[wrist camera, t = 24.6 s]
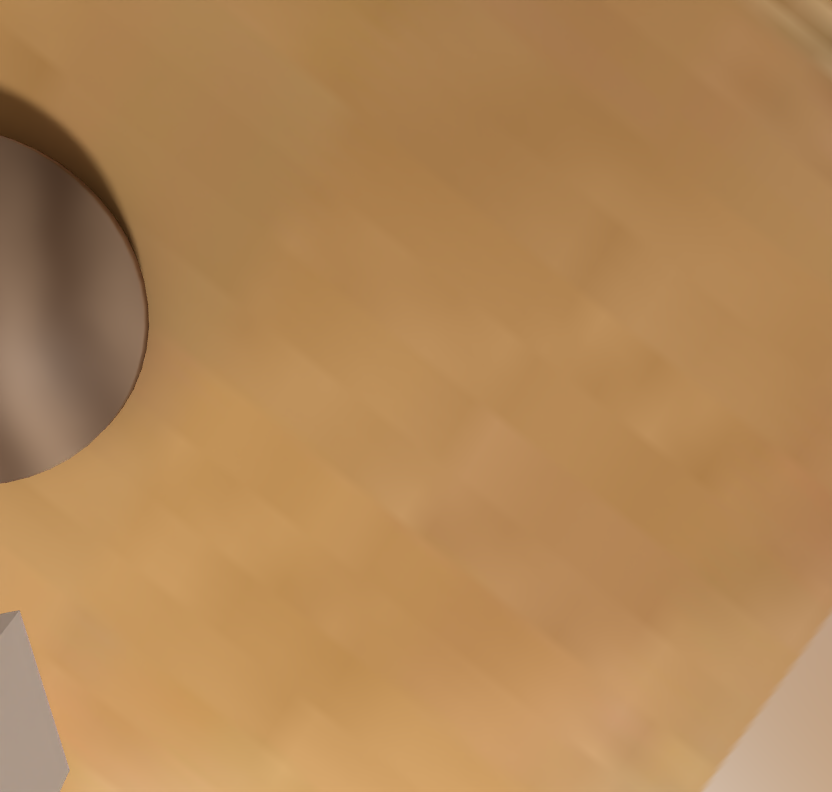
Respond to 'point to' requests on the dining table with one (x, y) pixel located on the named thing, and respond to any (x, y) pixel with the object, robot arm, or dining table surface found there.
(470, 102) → the dining table surface
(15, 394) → the disc
